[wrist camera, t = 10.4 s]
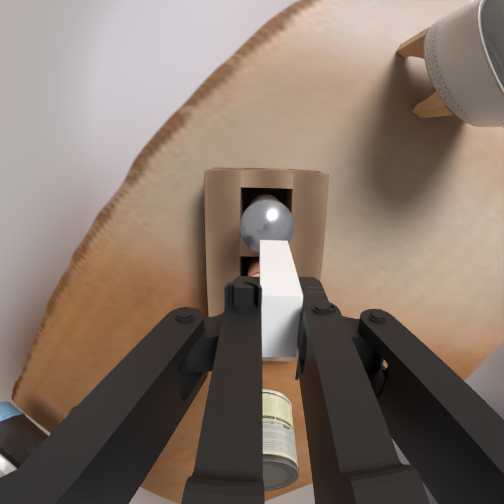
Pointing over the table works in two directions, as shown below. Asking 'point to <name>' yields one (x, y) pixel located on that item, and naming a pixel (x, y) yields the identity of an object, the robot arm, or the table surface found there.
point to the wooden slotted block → (229, 218)
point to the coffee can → (278, 442)
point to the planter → (464, 64)
